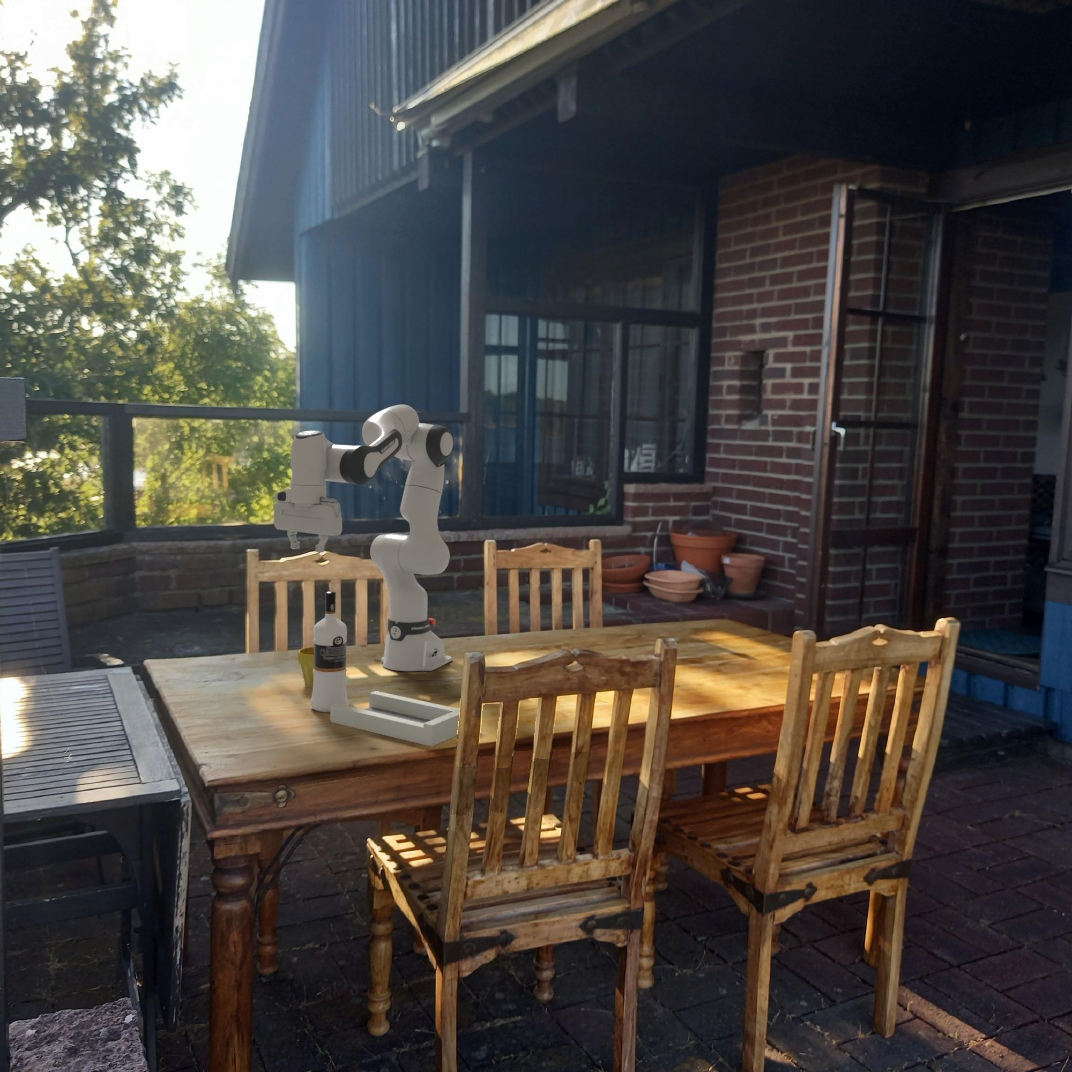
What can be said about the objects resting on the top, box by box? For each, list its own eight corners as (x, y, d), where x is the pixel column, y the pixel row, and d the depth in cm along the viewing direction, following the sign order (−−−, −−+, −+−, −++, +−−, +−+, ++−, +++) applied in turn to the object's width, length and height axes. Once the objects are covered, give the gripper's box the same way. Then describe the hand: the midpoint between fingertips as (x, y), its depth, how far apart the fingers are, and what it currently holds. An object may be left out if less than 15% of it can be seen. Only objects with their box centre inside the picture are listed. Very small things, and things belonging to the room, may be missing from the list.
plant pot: (298, 691, 278) (299, 655, 277) (296, 681, 288) (297, 646, 286) (338, 689, 281) (338, 654, 279) (334, 679, 290) (335, 645, 289)
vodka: (339, 701, 270) (340, 587, 266) (353, 710, 262) (355, 593, 259) (305, 705, 265) (306, 589, 261) (318, 715, 257) (320, 595, 253)
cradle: (375, 706, 267) (375, 687, 266) (473, 728, 251) (474, 708, 251) (330, 721, 252) (330, 701, 252) (431, 746, 237) (432, 725, 236)
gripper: (348, 498, 259) (347, 553, 260) (287, 492, 269) (287, 545, 271) (331, 499, 253) (330, 555, 255) (269, 493, 264) (269, 547, 265)
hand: (307, 550), depth 263 cm, fingers open, 7 cm apart
